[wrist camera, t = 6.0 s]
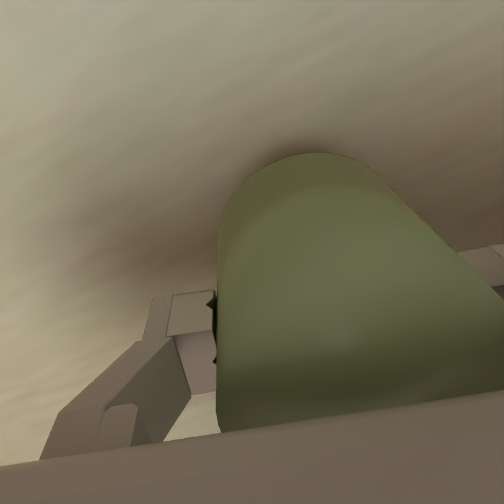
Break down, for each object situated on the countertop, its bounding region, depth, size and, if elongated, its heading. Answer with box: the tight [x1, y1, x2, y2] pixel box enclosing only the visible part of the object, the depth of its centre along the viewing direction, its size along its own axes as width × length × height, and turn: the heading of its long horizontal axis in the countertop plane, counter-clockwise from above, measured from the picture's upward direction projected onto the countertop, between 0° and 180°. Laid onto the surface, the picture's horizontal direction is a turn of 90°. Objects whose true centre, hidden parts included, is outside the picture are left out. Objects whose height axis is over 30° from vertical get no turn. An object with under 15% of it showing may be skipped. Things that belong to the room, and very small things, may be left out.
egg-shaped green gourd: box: [216, 153, 504, 433], centre depth 10 cm, size 6×6×6 cm
